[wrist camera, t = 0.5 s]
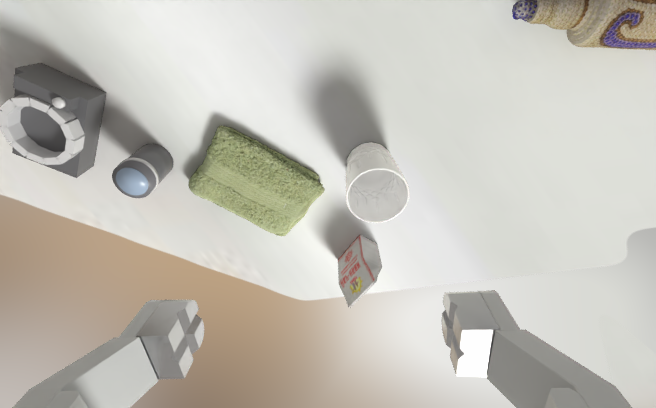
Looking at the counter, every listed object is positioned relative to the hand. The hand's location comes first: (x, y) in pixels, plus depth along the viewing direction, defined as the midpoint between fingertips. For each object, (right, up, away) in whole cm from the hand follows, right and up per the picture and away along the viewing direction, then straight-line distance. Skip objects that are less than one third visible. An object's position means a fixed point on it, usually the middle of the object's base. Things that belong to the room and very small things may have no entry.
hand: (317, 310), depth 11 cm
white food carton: (+5, -5, +48) cm, 49 cm away
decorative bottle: (+35, +27, +29) cm, 53 cm away
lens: (-25, +10, +38) cm, 47 cm away
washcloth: (-10, +7, +41) cm, 43 cm away
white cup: (+6, +10, +39) cm, 41 cm away
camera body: (-35, +15, +35) cm, 52 cm away
